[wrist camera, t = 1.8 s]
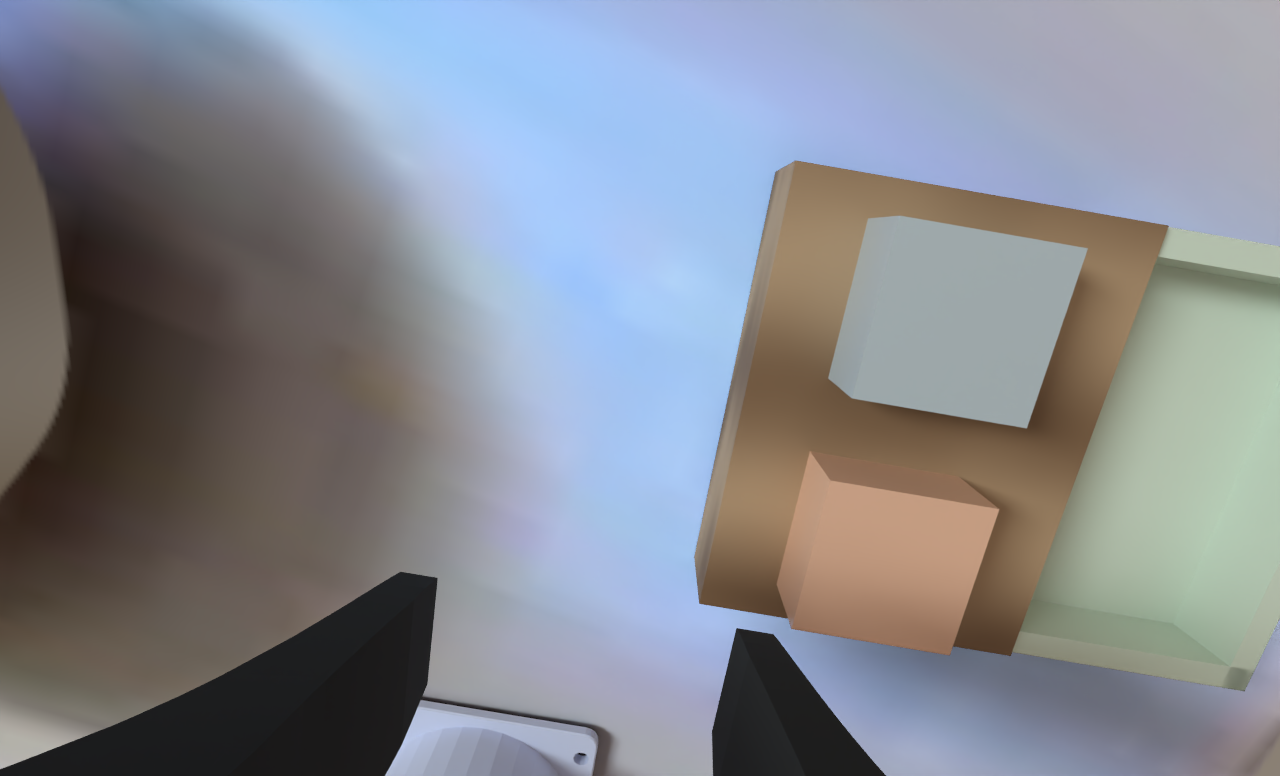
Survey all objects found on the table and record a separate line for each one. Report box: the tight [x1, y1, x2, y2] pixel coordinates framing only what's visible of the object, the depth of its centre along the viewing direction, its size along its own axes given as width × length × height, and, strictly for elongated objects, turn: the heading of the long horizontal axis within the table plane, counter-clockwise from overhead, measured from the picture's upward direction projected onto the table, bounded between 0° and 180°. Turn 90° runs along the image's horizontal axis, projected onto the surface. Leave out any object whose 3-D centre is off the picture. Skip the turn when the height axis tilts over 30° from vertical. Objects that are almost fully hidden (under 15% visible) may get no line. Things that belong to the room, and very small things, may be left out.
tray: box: [1012, 227, 1280, 691], centre depth 17 cm, size 12×7×2 cm, turn 170°
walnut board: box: [694, 161, 1169, 656], centre depth 17 cm, size 12×9×3 cm
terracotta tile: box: [777, 451, 999, 655], centre depth 16 cm, size 4×4×2 cm
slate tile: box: [828, 216, 1088, 428], centre depth 14 cm, size 4×4×2 cm
